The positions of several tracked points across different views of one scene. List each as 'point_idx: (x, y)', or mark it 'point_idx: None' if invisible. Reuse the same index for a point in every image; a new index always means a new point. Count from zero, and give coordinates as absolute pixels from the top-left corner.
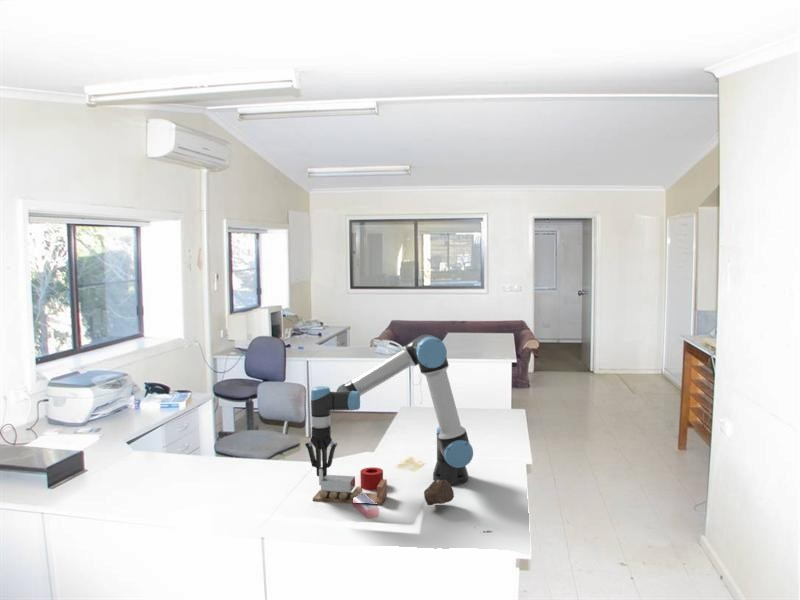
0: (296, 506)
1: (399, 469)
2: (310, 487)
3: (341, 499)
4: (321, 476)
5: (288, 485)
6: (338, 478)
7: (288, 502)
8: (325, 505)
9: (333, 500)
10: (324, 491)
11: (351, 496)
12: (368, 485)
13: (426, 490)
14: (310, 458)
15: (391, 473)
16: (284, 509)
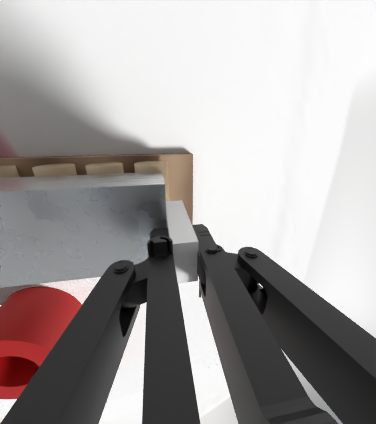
0: (236, 79)
1: None
2: None
3: (66, 163)
4: (174, 219)
5: (296, 257)
6: (77, 238)
7: (274, 119)
8: (121, 111)
9: (102, 155)
10: (143, 167)
11: (5, 167)
12: (26, 300)
13: None
14: (313, 294)
15: None
16: (277, 31)
